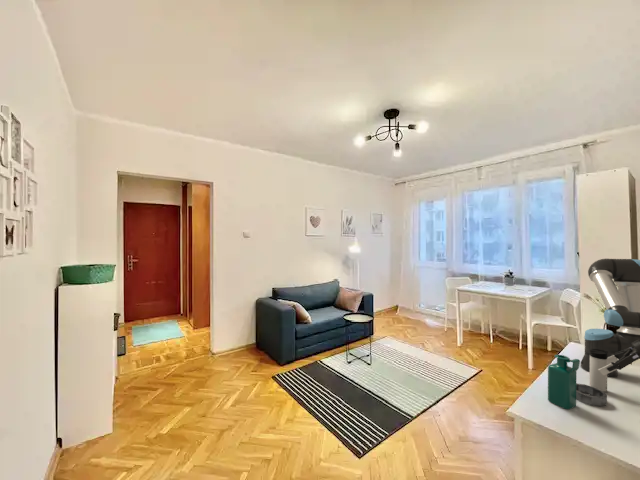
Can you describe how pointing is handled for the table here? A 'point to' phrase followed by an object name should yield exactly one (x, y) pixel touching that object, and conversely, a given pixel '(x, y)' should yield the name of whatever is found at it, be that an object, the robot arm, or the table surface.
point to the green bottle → (562, 382)
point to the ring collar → (596, 397)
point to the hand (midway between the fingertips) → (601, 368)
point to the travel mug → (597, 362)
